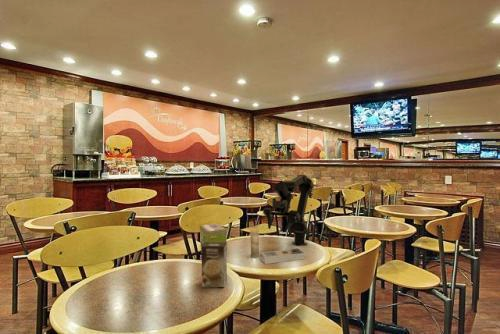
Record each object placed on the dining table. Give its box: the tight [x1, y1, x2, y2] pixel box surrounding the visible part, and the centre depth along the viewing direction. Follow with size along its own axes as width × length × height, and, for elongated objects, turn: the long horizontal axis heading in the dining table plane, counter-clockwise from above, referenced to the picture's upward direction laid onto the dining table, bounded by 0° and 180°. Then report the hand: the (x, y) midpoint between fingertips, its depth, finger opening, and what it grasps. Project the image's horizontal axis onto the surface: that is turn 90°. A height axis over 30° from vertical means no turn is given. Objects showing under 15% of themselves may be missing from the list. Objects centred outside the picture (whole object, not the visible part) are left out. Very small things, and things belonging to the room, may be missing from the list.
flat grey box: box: [259, 248, 306, 265], centre depth 143 cm, size 8×20×3 cm, turn 106°
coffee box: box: [200, 242, 228, 288], centre depth 115 cm, size 9×6×16 cm
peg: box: [250, 229, 260, 259], centre depth 147 cm, size 4×4×13 cm
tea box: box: [199, 223, 228, 253], centre depth 152 cm, size 15×10×15 cm, turn 25°
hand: (277, 229), depth 144 cm, fingers open, 9 cm apart
